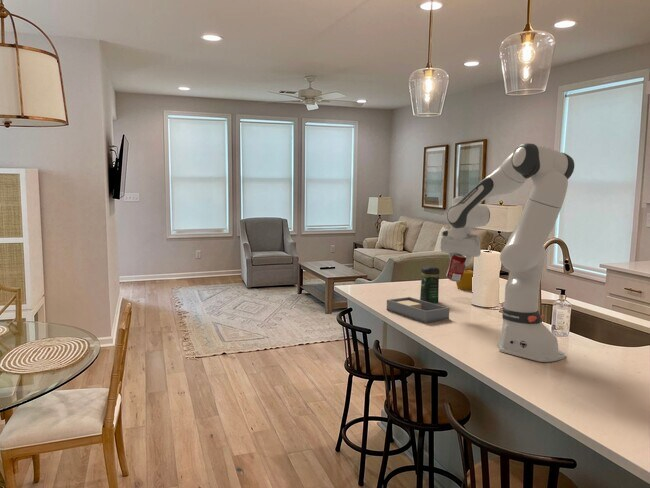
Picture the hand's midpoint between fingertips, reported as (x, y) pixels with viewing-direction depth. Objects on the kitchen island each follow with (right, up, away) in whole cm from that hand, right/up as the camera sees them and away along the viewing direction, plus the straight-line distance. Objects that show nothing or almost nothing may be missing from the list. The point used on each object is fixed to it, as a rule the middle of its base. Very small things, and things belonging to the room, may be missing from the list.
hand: (459, 264), depth 215 cm
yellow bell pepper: (+19, -18, +58) cm, 64 cm away
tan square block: (-21, -21, +10) cm, 31 cm away
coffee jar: (-7, -20, +29) cm, 36 cm away
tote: (-18, -23, +4) cm, 29 cm away
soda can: (-2, -7, +3) cm, 8 cm away
